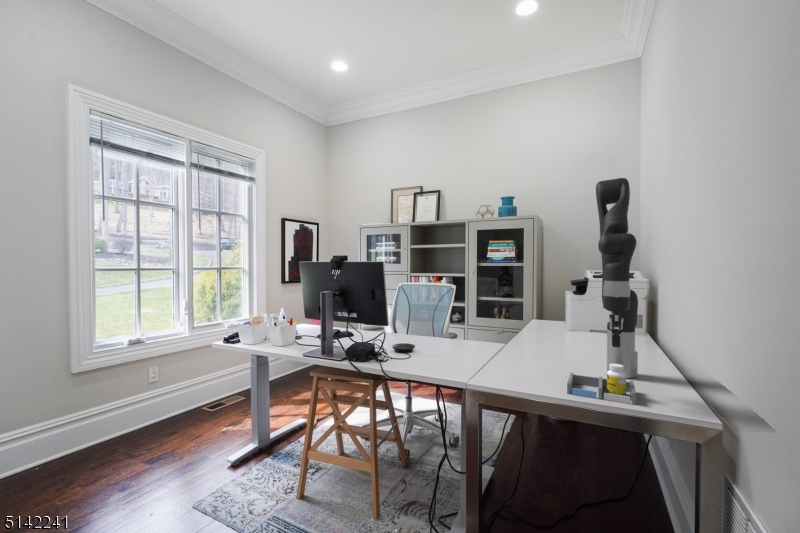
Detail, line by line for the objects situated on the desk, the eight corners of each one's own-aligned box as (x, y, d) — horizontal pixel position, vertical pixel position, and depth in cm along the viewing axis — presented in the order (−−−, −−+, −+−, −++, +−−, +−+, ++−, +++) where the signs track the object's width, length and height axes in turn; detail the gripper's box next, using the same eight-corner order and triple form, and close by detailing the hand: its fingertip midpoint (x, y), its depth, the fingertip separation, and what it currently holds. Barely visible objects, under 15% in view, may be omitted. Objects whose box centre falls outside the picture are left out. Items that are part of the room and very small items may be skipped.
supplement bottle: (603, 392, 120) (603, 363, 119) (618, 392, 120) (618, 362, 120) (614, 398, 114) (614, 367, 114) (630, 397, 115) (630, 367, 115)
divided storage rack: (633, 391, 120) (633, 381, 120) (636, 404, 109) (636, 393, 109) (570, 382, 130) (570, 372, 130) (567, 393, 118) (567, 382, 118)
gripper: (603, 293, 125) (602, 339, 125) (602, 295, 113) (602, 347, 113) (629, 294, 121) (628, 342, 121) (631, 296, 109) (630, 350, 109)
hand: (615, 344), depth 117 cm, fingers open, 8 cm apart
